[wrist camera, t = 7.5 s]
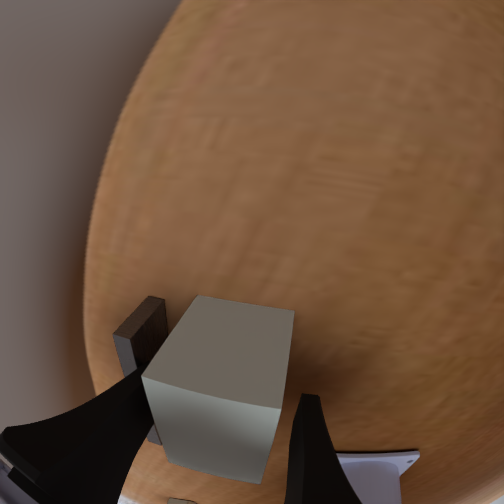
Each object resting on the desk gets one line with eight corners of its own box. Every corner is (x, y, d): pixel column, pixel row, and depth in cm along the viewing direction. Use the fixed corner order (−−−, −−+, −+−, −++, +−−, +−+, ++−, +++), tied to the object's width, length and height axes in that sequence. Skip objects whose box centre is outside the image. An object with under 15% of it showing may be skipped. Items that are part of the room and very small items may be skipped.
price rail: (182, 409, 15) (164, 446, 12) (164, 404, 15) (145, 439, 13) (168, 300, 12) (134, 341, 9) (144, 295, 12) (108, 332, 10)
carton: (294, 309, 11) (281, 409, 7) (276, 402, 13) (260, 484, 9) (195, 293, 12) (136, 374, 7) (199, 387, 14) (165, 460, 10)
